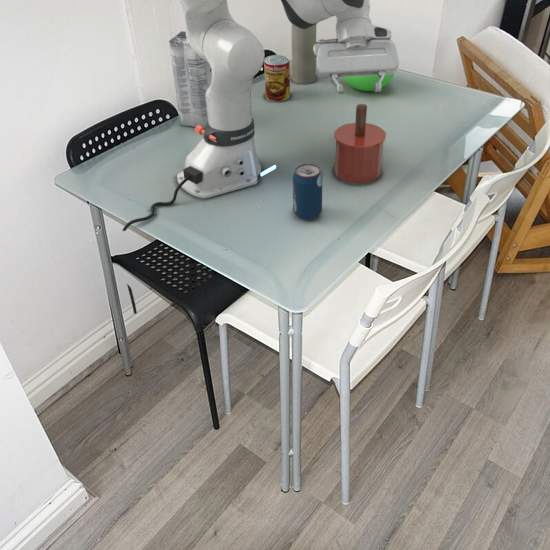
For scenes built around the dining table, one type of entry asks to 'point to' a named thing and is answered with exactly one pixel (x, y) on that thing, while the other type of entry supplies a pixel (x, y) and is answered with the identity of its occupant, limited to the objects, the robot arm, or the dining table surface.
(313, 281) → the dining table surface
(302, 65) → the thermos bottle
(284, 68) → the canned food
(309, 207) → the soda can
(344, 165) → the pot
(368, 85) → the toy bird
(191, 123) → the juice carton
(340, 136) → the lid
